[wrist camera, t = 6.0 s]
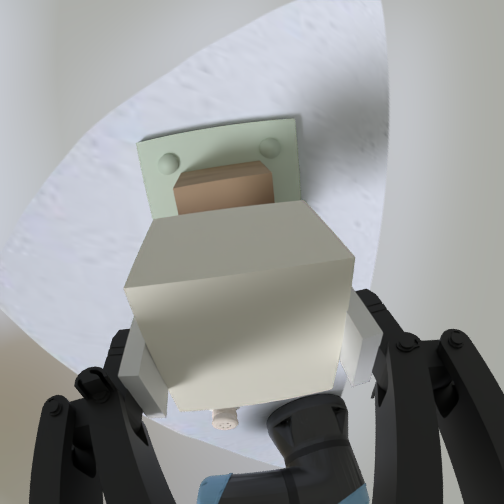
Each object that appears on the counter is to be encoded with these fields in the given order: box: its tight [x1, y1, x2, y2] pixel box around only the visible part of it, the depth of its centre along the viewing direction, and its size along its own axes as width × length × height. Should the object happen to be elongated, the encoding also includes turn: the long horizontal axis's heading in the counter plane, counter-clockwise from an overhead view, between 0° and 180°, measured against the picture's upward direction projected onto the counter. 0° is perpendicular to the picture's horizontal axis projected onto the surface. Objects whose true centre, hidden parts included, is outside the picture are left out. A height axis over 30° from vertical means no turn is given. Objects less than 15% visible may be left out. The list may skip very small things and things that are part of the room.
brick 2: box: [124, 200, 355, 412], centre depth 12 cm, size 7×7×6 cm
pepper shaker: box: [210, 407, 240, 430], centre depth 31 cm, size 5×5×11 cm
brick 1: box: [173, 161, 275, 215], centre depth 24 cm, size 7×7×6 cm
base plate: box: [136, 118, 301, 219], centre depth 26 cm, size 14×14×1 cm
